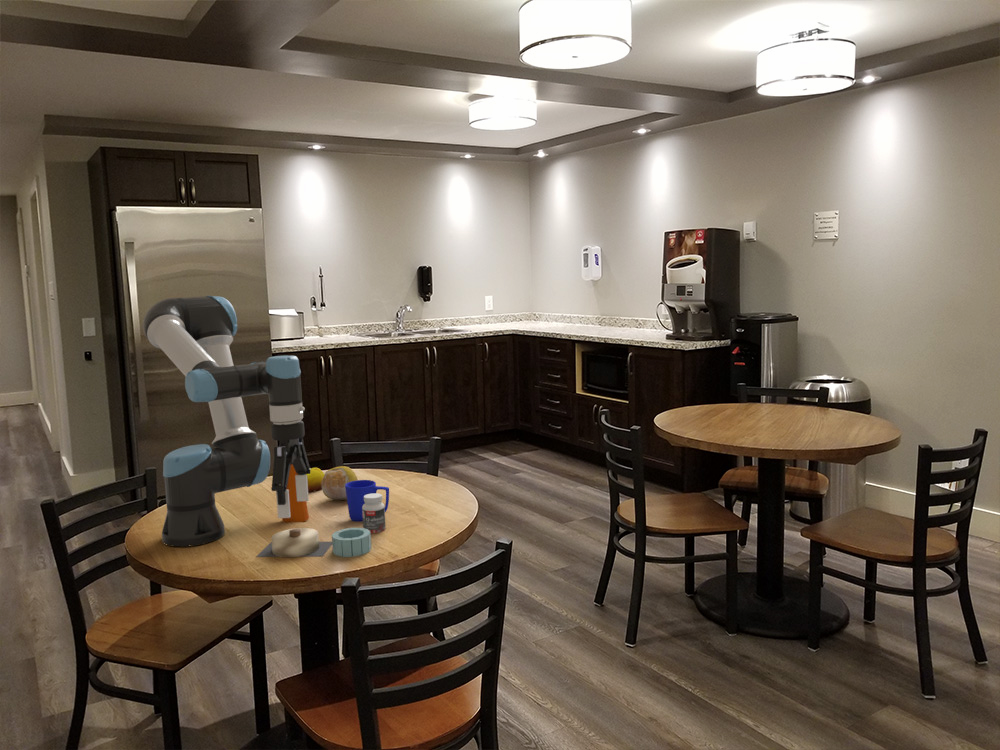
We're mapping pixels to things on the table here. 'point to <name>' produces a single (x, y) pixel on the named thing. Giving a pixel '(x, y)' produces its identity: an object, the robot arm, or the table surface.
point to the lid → (295, 542)
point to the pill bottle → (373, 513)
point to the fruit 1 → (314, 479)
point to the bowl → (351, 542)
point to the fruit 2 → (337, 482)
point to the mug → (361, 497)
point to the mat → (318, 553)
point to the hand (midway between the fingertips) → (294, 509)
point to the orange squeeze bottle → (295, 501)
